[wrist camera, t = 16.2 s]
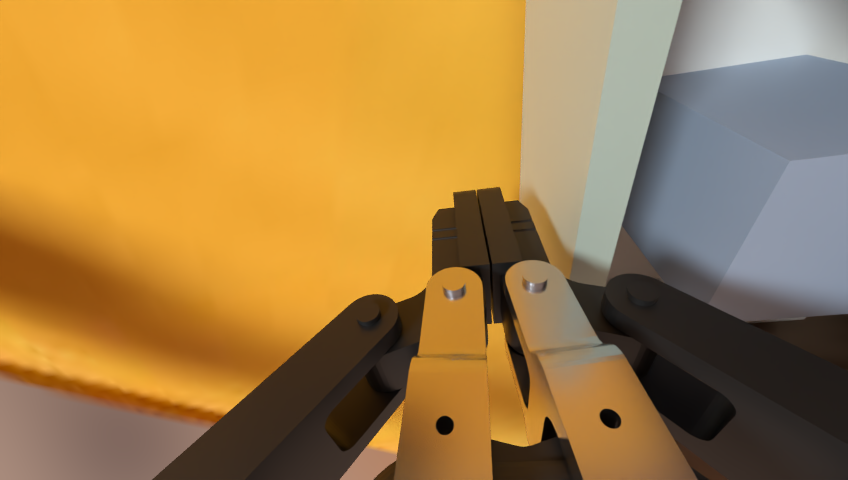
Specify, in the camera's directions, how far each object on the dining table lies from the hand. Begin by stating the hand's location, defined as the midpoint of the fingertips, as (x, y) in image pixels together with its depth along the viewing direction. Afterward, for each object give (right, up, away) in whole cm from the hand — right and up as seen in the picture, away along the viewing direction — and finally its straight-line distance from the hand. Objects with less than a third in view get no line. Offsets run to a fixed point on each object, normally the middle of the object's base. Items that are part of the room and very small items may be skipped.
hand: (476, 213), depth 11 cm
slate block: (+8, +3, +1) cm, 9 cm away
